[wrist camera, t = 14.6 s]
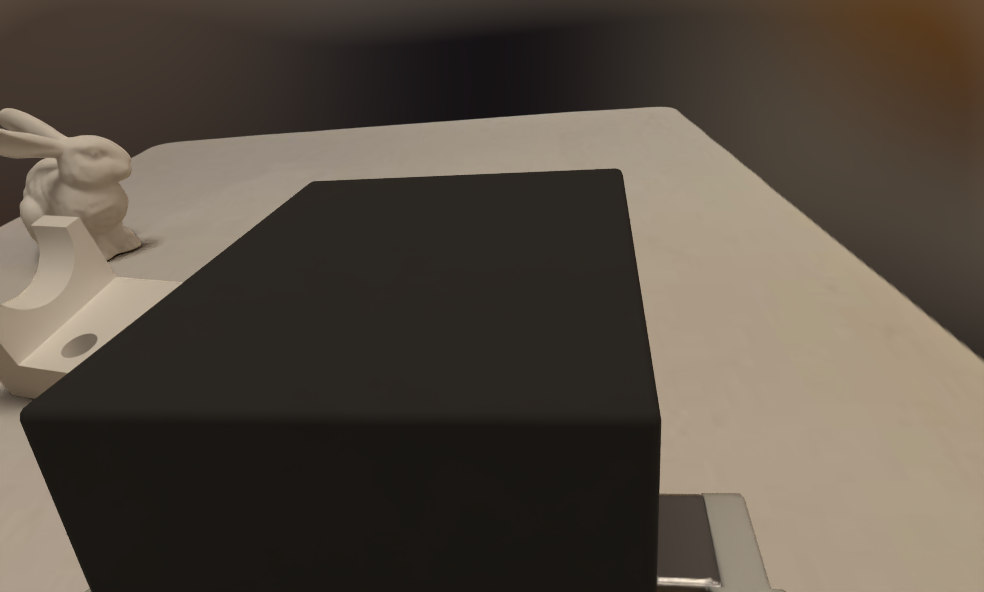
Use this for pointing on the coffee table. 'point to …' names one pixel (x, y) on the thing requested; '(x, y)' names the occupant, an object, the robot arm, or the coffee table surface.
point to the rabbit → (71, 179)
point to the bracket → (67, 308)
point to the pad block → (377, 402)
